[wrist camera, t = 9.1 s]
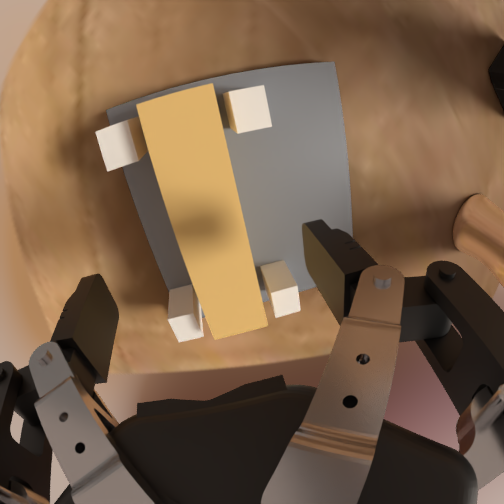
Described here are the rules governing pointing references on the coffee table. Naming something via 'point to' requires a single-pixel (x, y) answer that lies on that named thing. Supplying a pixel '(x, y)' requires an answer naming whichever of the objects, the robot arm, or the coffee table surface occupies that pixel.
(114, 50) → the coffee table surface
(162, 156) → the bar
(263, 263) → the board
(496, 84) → the portable radio
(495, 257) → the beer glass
